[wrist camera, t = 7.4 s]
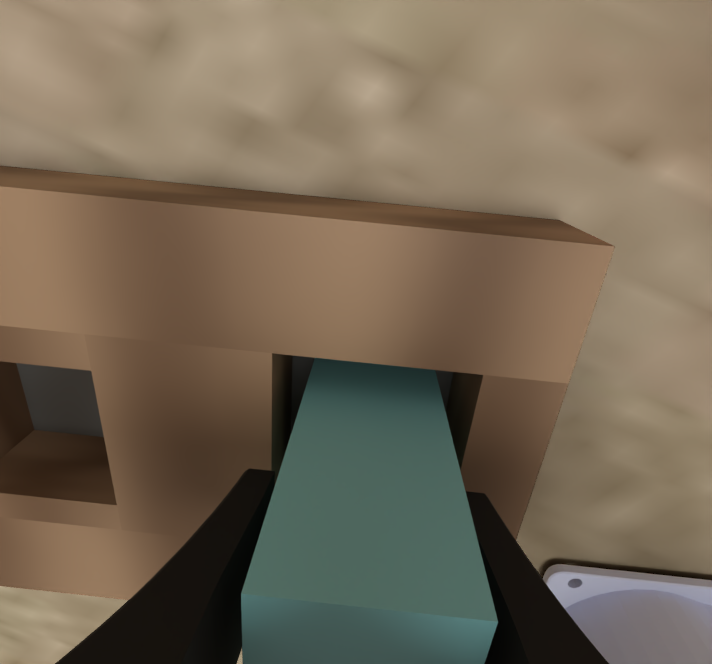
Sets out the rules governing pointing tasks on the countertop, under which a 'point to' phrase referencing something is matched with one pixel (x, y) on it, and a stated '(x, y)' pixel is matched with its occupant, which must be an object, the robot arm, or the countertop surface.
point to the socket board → (249, 351)
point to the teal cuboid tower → (368, 532)
